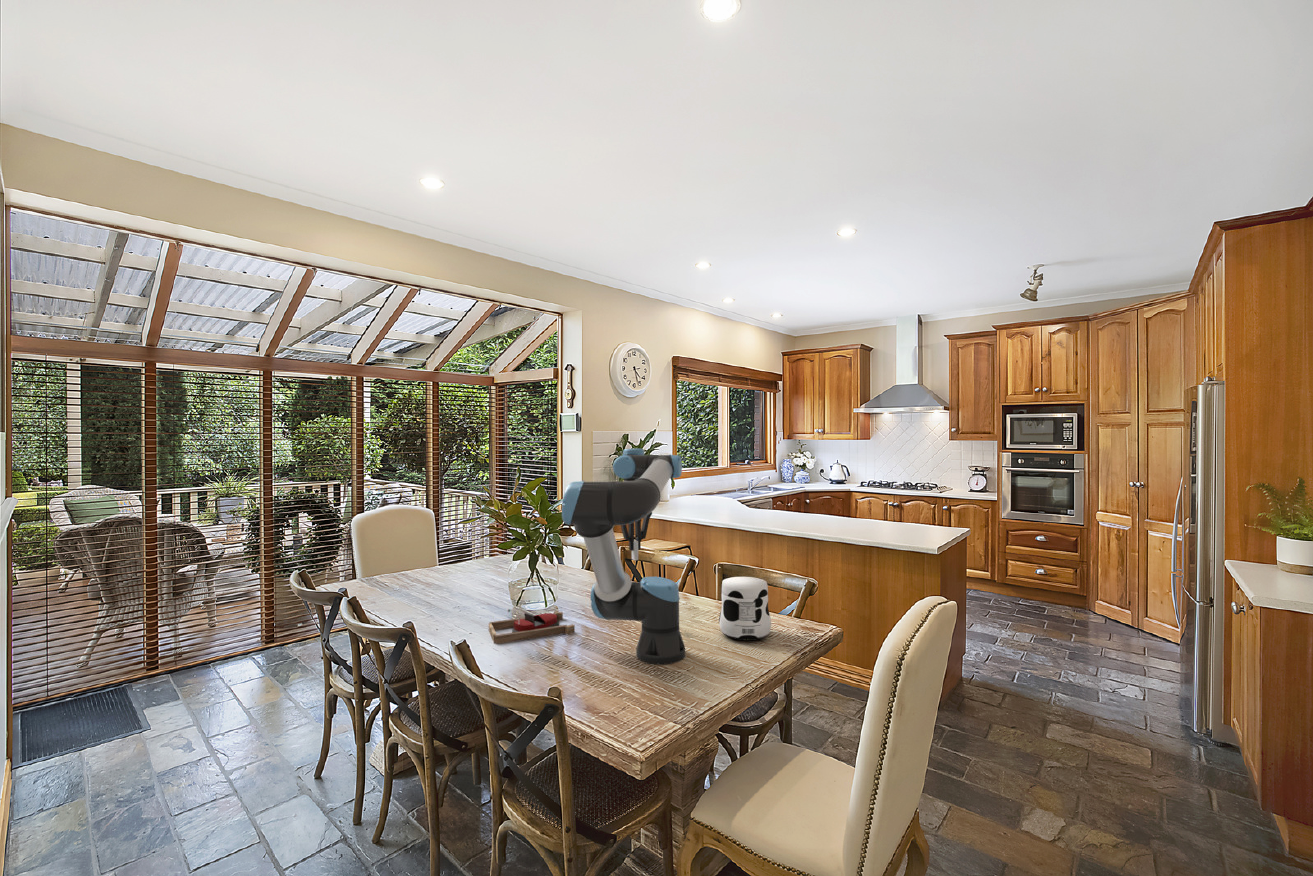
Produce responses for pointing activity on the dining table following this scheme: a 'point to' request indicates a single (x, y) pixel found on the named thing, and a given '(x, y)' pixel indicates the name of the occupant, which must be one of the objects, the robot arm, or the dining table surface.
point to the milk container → (745, 608)
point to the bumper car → (534, 621)
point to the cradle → (529, 633)
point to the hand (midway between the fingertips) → (635, 559)
